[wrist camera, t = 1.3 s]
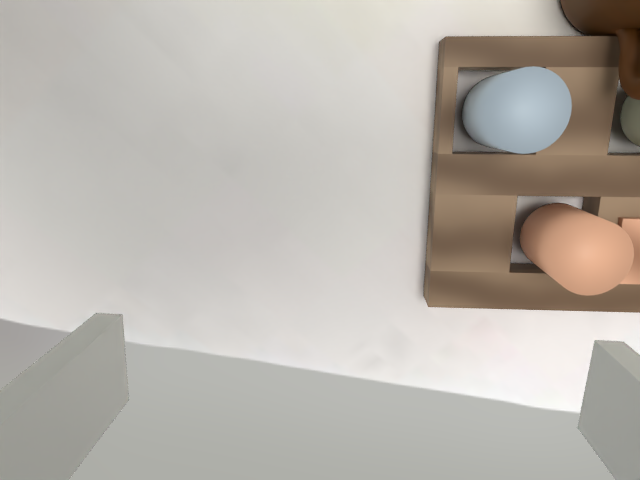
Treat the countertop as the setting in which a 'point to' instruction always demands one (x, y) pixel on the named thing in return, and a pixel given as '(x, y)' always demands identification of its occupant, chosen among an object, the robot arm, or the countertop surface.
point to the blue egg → (518, 110)
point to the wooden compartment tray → (526, 179)
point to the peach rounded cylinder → (577, 248)
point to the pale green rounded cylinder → (631, 119)
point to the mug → (612, 32)
